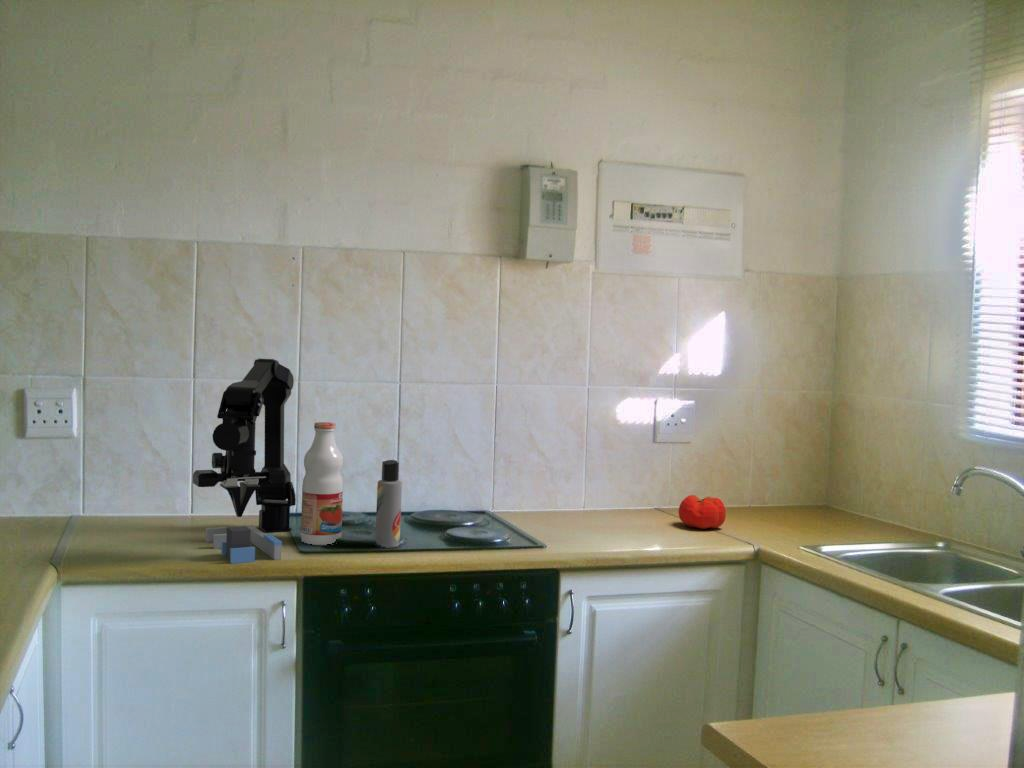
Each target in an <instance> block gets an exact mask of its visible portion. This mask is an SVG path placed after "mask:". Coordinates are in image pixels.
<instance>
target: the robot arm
mask: <svg viewBox="0 0 1024 768" xmlns="http://www.w3.org/2000/svg"><path fill="white" fill-rule="evenodd" d="M294 383H295V381H294V375H293V373H292V372H291V369H289V368H288V367H286V366H284V365H282V364H280V362H279V361H278V360H276V359H274V358H257V359H256V358H255V360H254V361H253V366H252V368H250V370H249V371H248V372H247V374H246V375H245V376H244V377H243V379H241V381H237V382H232V383H231V384H230V385H228V386H227V388H226V389H225V390H224V391H223V394H222V397H221V400H220V405H219V408H218V412H217V416H216V417H217V419H221V420H222V422H221V423H219V424H218V425H217V426H215V428H214V430H213V433H212V442H213V444H214V445H215V446H216V448H218V449H220V450H221V451H225V454H224V455H223V452H213V453H211V454H212V455H211V467H212V469H196V470H195V471H194V472H193V474H192V484H194V485H195V486H196V487H198V488H209V487H210V488H212V487H213V488H215V486H216V485H218V484H219V486H220V487H221V488H222V489H224V490H226V491H227V493H228V495H229V497H230V500H231V503H232V505H233V509H234V512H235V516H236V517H238V518H242V517H243V514H244V512H245V510H246V508H247V505H248V504H249V502H250V500H251V498H252V497H253V494H255V504H256V506H261V507H260V508H261V509H259V510H258V529H260V530H262V531H263V532H265V533H270V532H271V533H273V532H287V531H292V527H291V526H290V520H291V519H290V518H291V517H290V515H291V513H290V512H291V507H294V506H296V503H297V501H296V500H297V499H296V498H297V497H296V492H295V486H294V485H293V481H292V479H291V476H292V475H291V472H290V471H289V469H288V467H287V466H286V465H285V404H286V403H287V402H288V400H289V398H290V396H291V395H292V390H293V388H294ZM263 406H264V463H263V464H264V465H263V467H261V471H256V469H255V456H256V455H257V450H256V421H257V418H258V417H259V416H260V414H261V412H262V411H261V410H262V407H263ZM213 469H220V473H219V472H217V471H215V470H213ZM238 482H239V485H238Z"/></svg>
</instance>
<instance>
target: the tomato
mask: <svg viewBox="0 0 1024 768" xmlns="http://www.w3.org/2000/svg"><path fill="white" fill-rule="evenodd" d="M726 512H727V511H726V506H725V504H724V502H723V501H722V500H721V498H719V497H712V496H707V497H704V498H700V497H698V496H697V495H694V494H690V495H687V496H686V497H685V498H684V499H683V500H682V501H681V502H680V504H679V506H678V517H679V519H680V521H681V522H682V523H683V524H684V525H686V526H688V527H690V528H696V529H697V528H698V529H701V530H704V529H705V530H706V529H708V528H710V529H712V530H714V529H716V528H719V527H721V526H722V525H723V524H724V522H725V521H726V516H727V514H726Z"/></svg>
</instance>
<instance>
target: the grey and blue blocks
mask: <svg viewBox="0 0 1024 768" xmlns="http://www.w3.org/2000/svg"><path fill="white" fill-rule="evenodd" d="M245 526H246V527H247V528H249V529H250V530H251V535H250V544H253V545H254V546H250V547H242V548H230V560H229V563H230V564H241V563H242V564H243V563H254V562H255V560H256V559H255V558H256V548H258V549H259V550H260V551H263V553H265V554H266V555H268V556H269V557H270V558H271V559H273V560H281V559H282V546H283V541H282V540H280V539H278V538H277V537H276V536H274V535H273V534H271V533H268V534H267V533H264V531H261V529H260V528H257V527H256V526H254V525H253V524H250V525H245ZM227 527H228V526H219V527H218V526H217V527H206V528H205V537H204V538H205V542H206V543H210V542H211V543H212V545H213V546H212V548H213V549H214V550H215V549H218V550H219V549H220V550H221V552H220V554H221V556H222V557H226V539H227Z"/></svg>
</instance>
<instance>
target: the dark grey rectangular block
mask: <svg viewBox="0 0 1024 768" xmlns="http://www.w3.org/2000/svg"><path fill="white" fill-rule="evenodd" d="M226 527H227V539H226V556H225V558H227V559H228V560H229V561H230V548H242V547H251V542H250V535H251V530H250V529H249V528H247V527H246V525H244V526H226Z"/></svg>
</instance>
